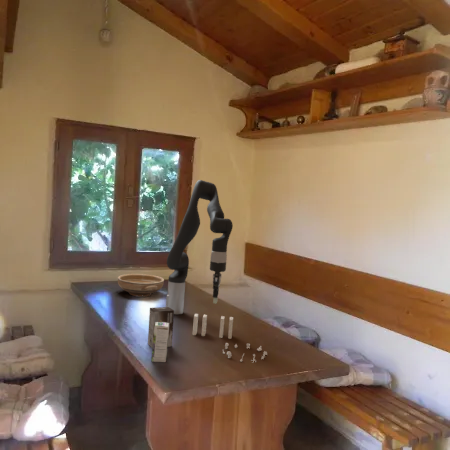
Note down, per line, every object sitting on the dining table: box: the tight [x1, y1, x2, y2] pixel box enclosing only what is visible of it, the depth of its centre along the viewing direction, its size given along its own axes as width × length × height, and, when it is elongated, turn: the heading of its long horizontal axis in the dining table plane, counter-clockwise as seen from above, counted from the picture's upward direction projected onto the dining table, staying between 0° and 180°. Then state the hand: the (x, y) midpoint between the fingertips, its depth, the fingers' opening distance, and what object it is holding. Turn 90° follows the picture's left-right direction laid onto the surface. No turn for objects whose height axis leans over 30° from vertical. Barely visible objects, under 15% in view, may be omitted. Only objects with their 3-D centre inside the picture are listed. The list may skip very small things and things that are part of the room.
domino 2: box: [201, 313, 208, 337], centre depth 229 cm, size 2×5×9 cm, turn 177°
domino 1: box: [192, 313, 199, 336], centre depth 229 cm, size 2×5×9 cm, turn 177°
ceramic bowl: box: [117, 273, 165, 297], centre depth 299 cm, size 37×29×10 cm
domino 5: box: [227, 316, 234, 340], centre depth 228 cm, size 2×5×9 cm, turn 177°
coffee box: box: [147, 306, 175, 348], centre depth 208 cm, size 9×6×16 cm
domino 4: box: [218, 315, 225, 339], centre depth 228 cm, size 2×5×9 cm, turn 177°
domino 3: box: [212, 285, 218, 304], centre depth 227 cm, size 2×5×9 cm, turn 177°
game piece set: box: [222, 342, 268, 363], centre depth 206 cm, size 19×20×4 cm
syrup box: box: [151, 322, 169, 363], centre depth 191 cm, size 6×6×14 cm
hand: (215, 296), depth 227 cm, fingers closed on domino 3, 5 cm apart
